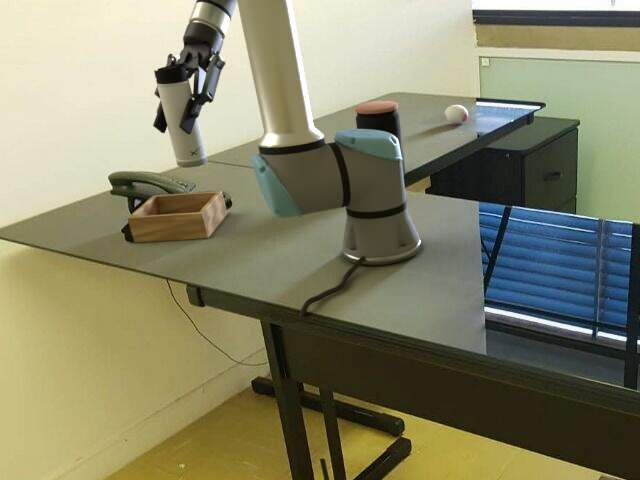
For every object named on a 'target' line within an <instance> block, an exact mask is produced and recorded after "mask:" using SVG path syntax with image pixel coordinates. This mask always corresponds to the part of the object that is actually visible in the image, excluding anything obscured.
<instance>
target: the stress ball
mask: <svg viewBox="0 0 640 480" xmlns="http://www.w3.org/2000/svg"><path fill="white" fill-rule="evenodd" d="M444 118H445V119H446V120H447V122H448V123H451V124H453V125H452V126H453V127H456V125H460V124H463V123H466V121H467V120H468V118H469V111H468V109H467V108H466V107H464V105H460V104H451V105H449V106H448V107H447V108H446V109H445V111H444Z"/></svg>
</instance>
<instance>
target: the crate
mask: <svg viewBox="0 0 640 480" xmlns="http://www.w3.org/2000/svg"><path fill="white" fill-rule="evenodd" d="M224 197H225V196H224V193H223V191H222V190H215V191H200V192H186V193H185V192H184V193H172V194H157V195H152V196H151V197H150V198H149V199H147V200H146V201H145V202H144V203H142V205H140V206H139V207H138V208H137V209H136V210H135V211H133V213H131V214H130V215H129V216H128V217H127V218H126V219H127V221H128V225H129V229H130V231H131V235H132V238H133V242H134V243H151V242H167V241H181V240H183V241H185V240H195V239H196V240H197V239H209V237H210V236H211V235H212V234H213V233H214V231H215V230H216V229H217V228H218V226H219V225H220V224H221V222H223V220H224V219H225V218H226V217H227V215H228V211H227V206H226V202H225V198H224Z"/></svg>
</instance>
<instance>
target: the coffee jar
mask: <svg viewBox="0 0 640 480" xmlns="http://www.w3.org/2000/svg"><path fill="white" fill-rule="evenodd" d="M353 109H354V112H355V113H356V117H355V123H356V129H371V130H379V131H385V132H388V133H391V134H393V135H394V136H395V137H396V138H397V139H398V141H399V146H400V151H401V156H402V159H403V161H402V167H403V177H405V175H406V172H407V171H406V163H405V154H404V153H405V152H404V145H403V136H402V127H401V119H400V113H399V112H398V111H397V110H398V109H399V103H398V102H396V101H393V100H375V101H374V100H373V101H367V102H362V103H359V104H357V105H355V106H354V107H353Z"/></svg>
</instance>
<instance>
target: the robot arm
mask: <svg viewBox="0 0 640 480" xmlns="http://www.w3.org/2000/svg"><path fill="white" fill-rule="evenodd" d="M236 7H238V13H239V18H240V22H241V27H242V31H243V37H244V40H245V45H246V46H245V47H246V50H247V56H248V60H249V65H250V71H251V74H252V75H251V76H252V80H253V84H254V89H255V95H256V99H257V103H258V108H259V112H260V118H261V122H262V127H263V134H262V136H261V137H260V138H259V140H258V141H257V147H258V151H259V153H255V155H252V157H251V164H252V168H253V171H254V172H253V173H254V176H255V178H256V181H257V184H258V186H259V190H260V192H261V194H262V196H263V198H264V201H265V203H266V205H267V207H268V209H269V211H270V212H271V213H272V214H273V215H274V216H275V217H277V218H279V219H289V218H293V217H294V218H295V217H299V218H301V217H303V216H305V215H311V214H316V213H320V212H321V213H322V212H325V211H330V210H336V209H340V208H345V212H346V220H345V221H346V222H345V227H344V233H343V239H342V248H341V249H342V256H343V258H344V259H345V261H348V262H349V263H352V264H353V265H352V266H351V267H350V268H349V269H348V270H347V271H346V273H345V274H344V275H343V276H342V279H341V281H340V283H339V284H337V285H336V286H334V287H331V288H328V289H326V290H323V291H322V292H320V293H318V294H317V295H314V296H312V297H311V296H310V297H309V298H308V299H306V300H305V302H304V303H303V305H302V306H301V308H300V311H299V316H298V317H299V318H304V317H305V316H306V314H307V311H308V309H309V307H310V306H311V305H312V304H314V303H317V302H319V301H321V300H323V299H325V298H326V297H329V296H330V295H334V294H335V293H338V292H339V291H341V290H343V289H344V288H345V287H346V285H347V283H348V280H349V279H350V277H351V276H352V275H353V274H354V273H355V272H356V271H357V269H358V268H359V267H360V266H385V265H392V264H396V263H400V262H404V261H406V260H409V259H411V258H413V257H414V256H416V255H417V254H419V252H420V251H421V247H422V246H421V239H420V236H419V233H418V232H417V229H416V226H415V224H414V223H413V220H412V218H411V216H410V214H409V211H408V206H407V204H408V203H407V195H406V188H405V187H406V186H405V178H404V177H405V176H404V177H403V167H402V161H403V159H402V156H401V151H400V146H399V141H398V139H397V138H396V137H395V136H394V135H393V134H391V133H388V132H385V131H379V130H371V129H357V128H350V129H342V130H339V131H336V132H335V133H334V137H333V142H327V143H326V141H325V140H326V139H325V135H324V133H323V132H321V131H320V130H319V129H318V128H316V127H315V126H314V121H313V115H312V111H311V105H310V99H309V93H308V89H307V88H308V87H307V83H306V78H305V77H306V76H305V71H304V66H303V60H302V55H301V49H300V43H299V39H298V33H297V27H296V22H295V21H296V20H295V16H294V10H293V5H292V0H196V1H195V3H194V6H193V8H192V11H191V14H190V16H189V19H188V24H187V25H186V28H185V31H184V33H183V36H182V41H183V42H182V43H183V48H182V49H181V51H180V52H179V54H176V55H174V54H172V53H169V54H168V55H167V59H166V63H165V64H166V65H165V67H166V66H170V65H175V64H181V63H182V62H186V63H187V66H186V71H187V76H188V79H192V78H193V86H192V87H193V90H192V95H193V96H192V95H191V94H190V95H191V96H192V97H193V99H192V98H189V100H188V102H187V105H186V108H185V111H184V114H183V116H182V119H181V122H180V125H179V127H180V128H181V129H182V130H183V131H185V132H186V133H187V134H191V132H192V129H193V126H194V123H195V120H196V118H198V119H199V116H200V113H201V110H202V108H203V106H204V105H205V104H206V103H209V104H211V103H212V102H213V101H214V98H215V95H216V92H217V88H218V85H219V80H220V77H221V73H222V70H223V69H224V67H225V66H226V64H227V61H226V60H225V59H224V58H223V57H222V56H221V55H220V54H221V50H222V47H223V44H224V40H225V39H226V36H227V33H228V30H229V27H230V24H231V21H232V17H233V15H234V12H235V11H236V10H235V9H236ZM153 94H154V95H155V96H156V97H157V98H158V99H159V100H160V101H159V103H158V105H157V106H158V107H157V109H156V116H155V119H154V121H153V124H152V126H153V128H155V129H156V130H158V131H159V132H160V133H161V134H166V131H167V129H168V126H167V122H166V118H165V114H164V110H163V107H162V103H161V99H160V95H159V91H158V86H157V85H156V88H155V90H154V93H153ZM319 462H320V463H319V464H320V467H321V472H322V476H323V480H330V476H329V471H328V467H327V462H326V458H325V457H323V458H319Z"/></svg>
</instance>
